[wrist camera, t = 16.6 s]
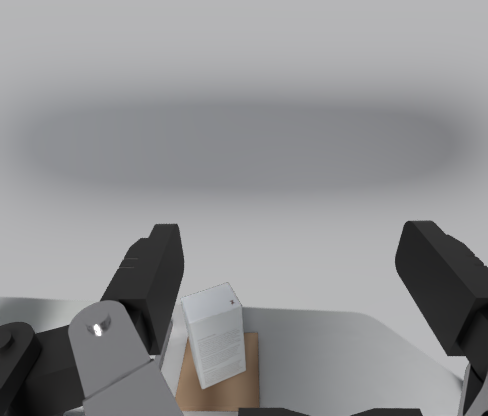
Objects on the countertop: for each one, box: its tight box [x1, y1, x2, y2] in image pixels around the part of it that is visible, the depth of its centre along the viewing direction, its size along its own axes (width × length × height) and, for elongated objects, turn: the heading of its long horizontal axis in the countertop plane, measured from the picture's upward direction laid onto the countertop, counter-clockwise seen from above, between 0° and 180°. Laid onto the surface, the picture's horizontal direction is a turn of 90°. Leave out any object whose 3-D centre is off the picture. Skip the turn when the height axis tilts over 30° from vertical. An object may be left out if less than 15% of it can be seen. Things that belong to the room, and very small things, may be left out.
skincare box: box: [181, 282, 246, 389], centre depth 37 cm, size 6×4×12 cm
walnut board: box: [175, 333, 259, 411], centre depth 40 cm, size 10×10×1 cm
